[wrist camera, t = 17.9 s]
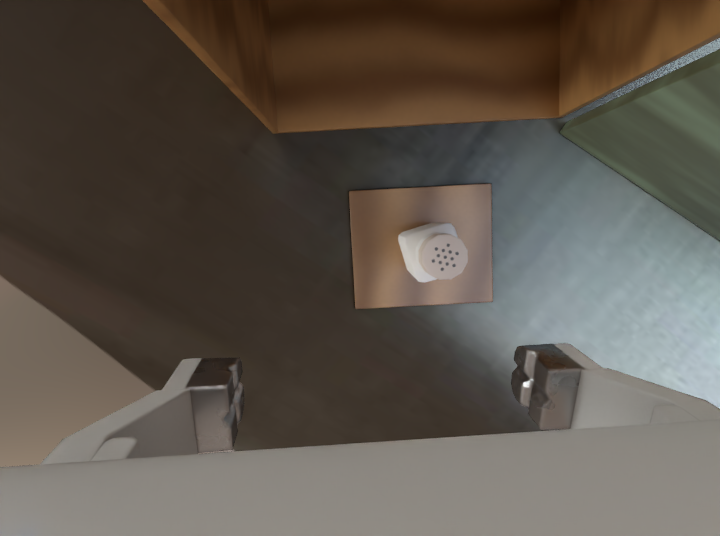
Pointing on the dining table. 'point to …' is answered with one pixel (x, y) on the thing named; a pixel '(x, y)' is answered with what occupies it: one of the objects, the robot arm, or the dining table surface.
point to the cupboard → (431, 55)
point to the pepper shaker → (433, 252)
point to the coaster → (410, 210)
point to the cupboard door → (664, 139)
